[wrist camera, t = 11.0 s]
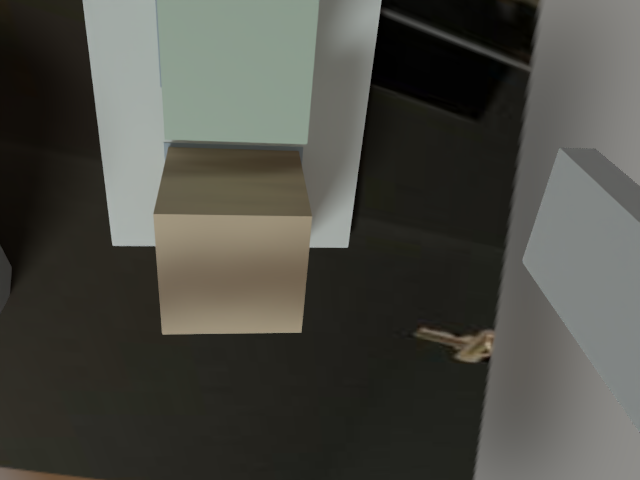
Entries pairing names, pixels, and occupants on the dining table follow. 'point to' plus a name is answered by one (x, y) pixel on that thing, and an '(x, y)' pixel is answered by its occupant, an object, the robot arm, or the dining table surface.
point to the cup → (4, 279)
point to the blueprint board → (151, 147)
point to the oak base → (232, 241)
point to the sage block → (237, 69)
